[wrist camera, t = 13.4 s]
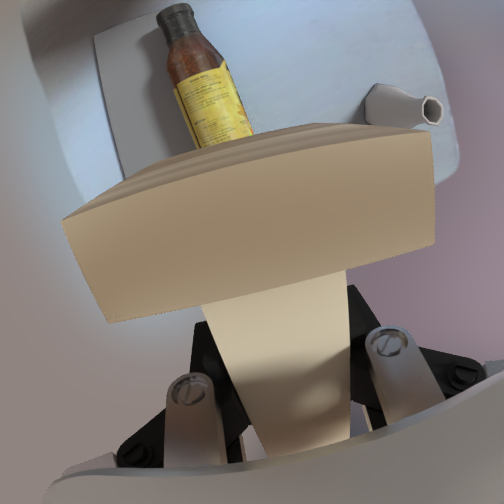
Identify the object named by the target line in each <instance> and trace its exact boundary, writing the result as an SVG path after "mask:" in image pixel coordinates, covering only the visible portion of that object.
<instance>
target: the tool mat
mask: <svg viewBox="0 0 504 504" xmlns="http://www.w3.org/2000/svg"><path fill="white" fill-rule="evenodd" d="M162 10H163V9H162ZM160 11H161V10H159V11H155V12H152V13H149V14H146V15H143V16H141V17H138V18H135V19H132V20H130V21H127V22H124V23H122V24H119V25H117V26H114V27H112V28H110V29H107V30H105V31H103V32H101V33H98V34H96V35H94V43H95V49H96V55H97V61H98V66H99V72H100V77H101V82H102V87H103V92H104V96H105V101H106V105H107V110H108V114H109V118H110V122H111V126H112V130H113V134H114V138H115V142H116V146H117V149H118V153H119V157H120V160H121V164H122V167H123V171H124V174H125V178H126V179H127V178H128V177H130V176H132V175H133V174H135V173H137V172H139V171H140V170H142V169H144V168H146V167H148V166H149V165H151V164H153V163H155V162H157V161H160V160H163V159H166V158H169V157H173V156H176V155H179V154H183V153H186V152H189V151H193V150H196V149H197V148H196V146H195V143H194V141H193V138H192V136H191V133H190V131H189V129H188V126H187V124H186V121H185V119H184V116H183V114H182V111H181V109H180V106H179V104H178V101H177V99H176V96H175V94H174V91H173V89H174V88H173V86H172V83H171V81H170V79H169V76H168V73H167V70H166V63H167V58H168V54H169V47H168V45H167V43H166V42H167V41H166V39H165V36H164V34H163V31H162V29H161V28H160V27H159V26H158V24H157V21H156V15H157V14H158V13H159V12H160Z"/></svg>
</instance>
